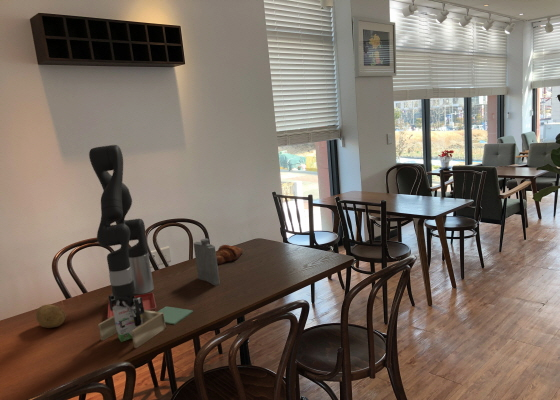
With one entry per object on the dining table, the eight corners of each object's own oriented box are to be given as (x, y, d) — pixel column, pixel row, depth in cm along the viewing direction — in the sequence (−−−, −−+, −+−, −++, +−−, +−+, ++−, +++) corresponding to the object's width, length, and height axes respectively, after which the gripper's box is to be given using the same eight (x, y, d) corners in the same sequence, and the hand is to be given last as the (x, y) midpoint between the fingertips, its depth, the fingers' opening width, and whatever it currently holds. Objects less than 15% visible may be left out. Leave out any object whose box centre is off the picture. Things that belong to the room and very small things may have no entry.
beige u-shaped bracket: (101, 340, 152) (98, 324, 151) (131, 321, 165) (128, 307, 164) (136, 348, 144) (133, 331, 143) (165, 328, 157) (163, 312, 155)
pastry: (215, 255, 238) (213, 242, 237) (242, 252, 239) (241, 238, 238) (213, 265, 222) (211, 251, 220) (243, 262, 223) (241, 247, 221)
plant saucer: (154, 298, 186) (153, 291, 186) (157, 315, 169) (156, 307, 169) (109, 308, 180) (108, 301, 180) (108, 326, 164) (107, 318, 163)
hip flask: (197, 278, 205) (191, 238, 201) (204, 275, 208) (199, 235, 204) (215, 285, 193) (209, 243, 189) (222, 283, 196) (217, 240, 192)
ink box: (121, 342, 149) (115, 311, 147) (117, 337, 153) (111, 306, 151) (145, 333, 154) (140, 303, 152) (141, 329, 158) (136, 299, 156)
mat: (146, 319, 165) (146, 318, 165) (166, 307, 175) (166, 306, 175) (174, 324, 159) (174, 323, 159) (193, 311, 168) (193, 310, 168)
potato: (48, 336, 160) (43, 316, 158) (32, 327, 169) (28, 308, 167) (74, 325, 167) (70, 305, 165) (58, 317, 176) (54, 298, 174)
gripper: (99, 282, 150) (107, 325, 153) (128, 286, 143) (136, 331, 146) (115, 275, 156) (123, 316, 159) (144, 278, 150) (152, 321, 153)
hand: (129, 323), depth 153 cm, fingers open, 8 cm apart
